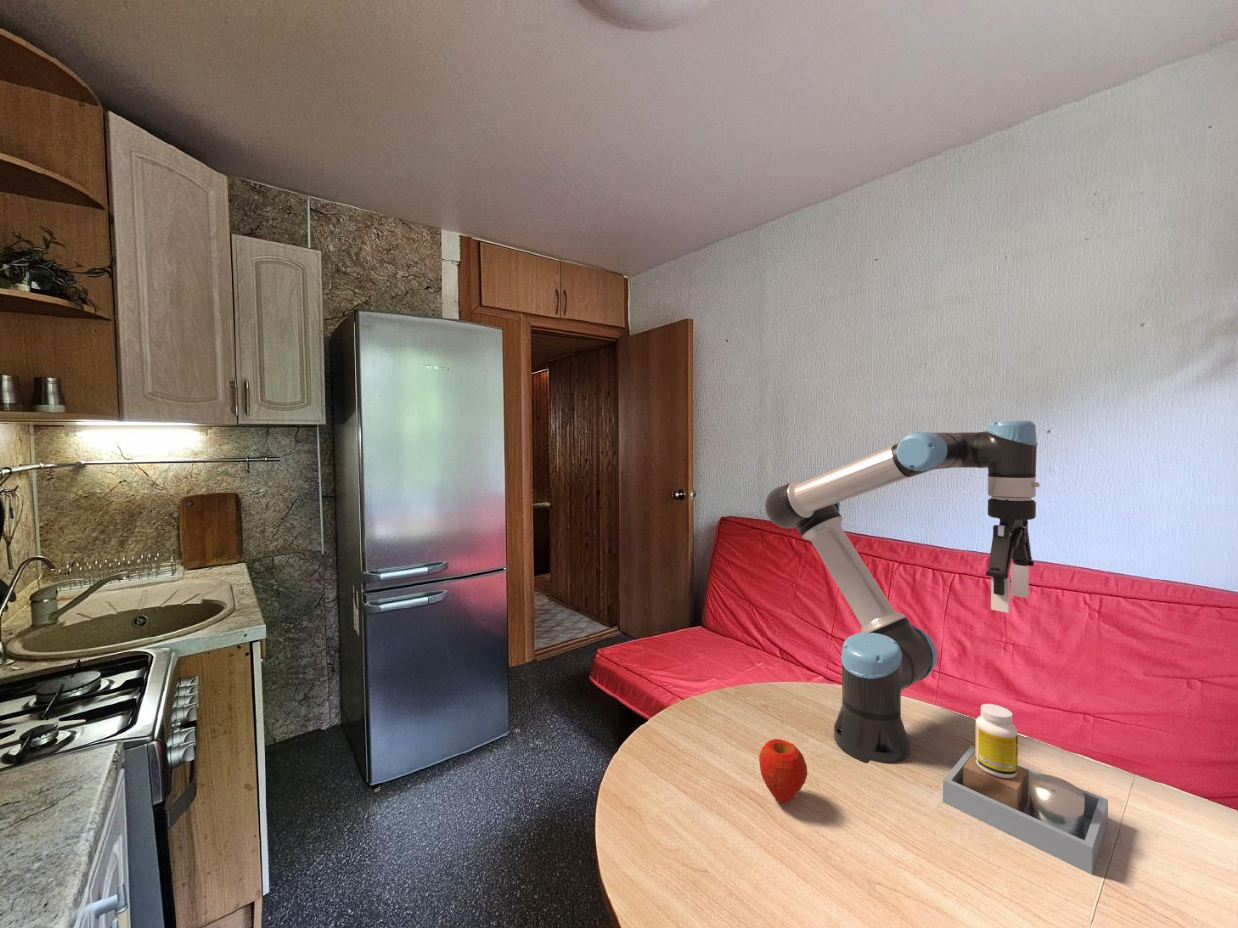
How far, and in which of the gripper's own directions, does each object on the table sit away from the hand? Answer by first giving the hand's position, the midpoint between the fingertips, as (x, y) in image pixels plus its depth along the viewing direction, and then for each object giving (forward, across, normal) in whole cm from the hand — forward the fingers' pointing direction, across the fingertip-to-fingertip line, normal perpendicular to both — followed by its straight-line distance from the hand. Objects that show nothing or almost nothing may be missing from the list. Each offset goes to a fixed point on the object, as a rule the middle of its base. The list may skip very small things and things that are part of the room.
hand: (1010, 603), depth 98 cm
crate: (+35, -13, -5) cm, 37 cm away
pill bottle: (+28, -13, -1) cm, 31 cm away
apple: (+35, -42, +25) cm, 60 cm away
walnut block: (+34, -13, -1) cm, 36 cm away
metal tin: (+34, -13, -10) cm, 38 cm away
